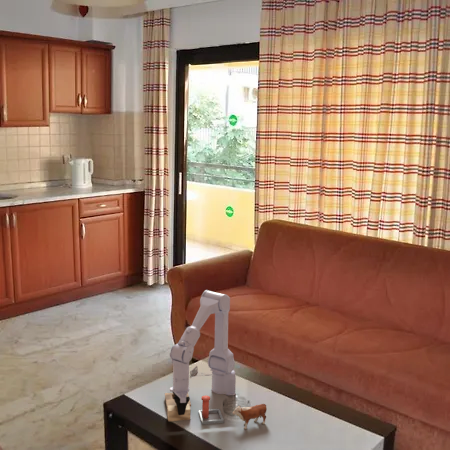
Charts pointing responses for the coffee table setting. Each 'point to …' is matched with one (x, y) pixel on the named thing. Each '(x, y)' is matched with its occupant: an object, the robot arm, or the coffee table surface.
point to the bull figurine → (251, 413)
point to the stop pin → (205, 406)
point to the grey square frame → (211, 420)
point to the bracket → (196, 372)
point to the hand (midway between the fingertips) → (180, 411)
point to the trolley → (172, 399)
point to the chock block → (173, 413)
